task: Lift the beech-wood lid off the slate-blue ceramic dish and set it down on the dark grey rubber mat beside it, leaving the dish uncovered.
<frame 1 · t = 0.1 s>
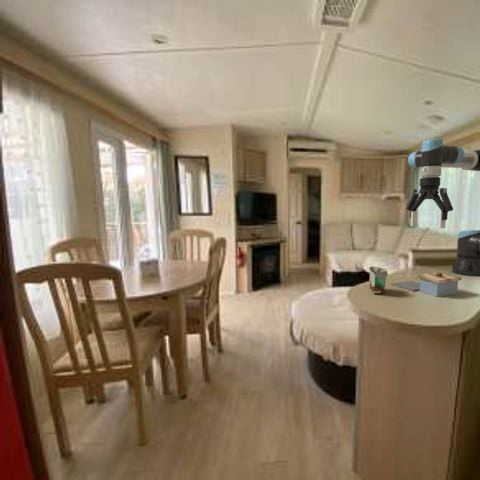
hand: (427, 227, 137), 28 cm above the countertop, tool pointing down, fingers open, 13 cm apart
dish: (438, 292, 135), on the countertop
mat: (411, 286, 145), on the countertop
food container: (379, 292, 137), on the countertop
lid: (438, 278, 134), point 6 cm above the countertop, touching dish
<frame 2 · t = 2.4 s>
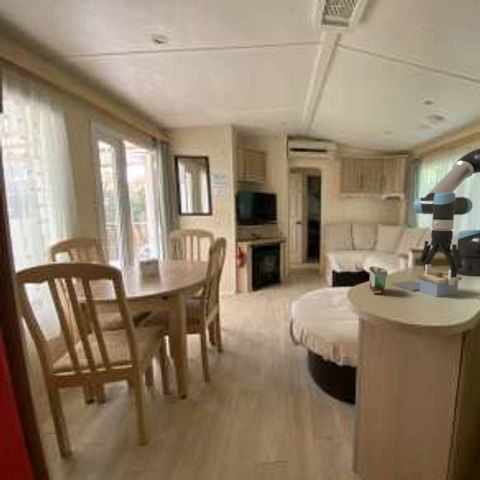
hand: (438, 281, 134), 5 cm above the countertop, tool pointing down, fingers closed on lid, 10 cm apart
lid: (438, 278, 134), point 6 cm above the countertop, touching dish, gripper
everything else where it was.
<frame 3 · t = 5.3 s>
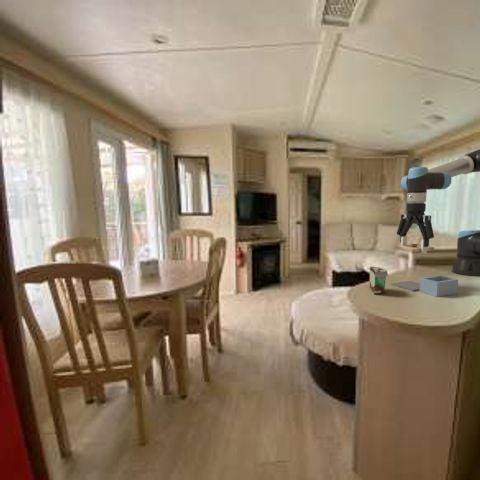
hand: (413, 252, 143), 16 cm above the countertop, tool pointing down, fingers closed on lid, 10 cm apart
lid: (413, 249, 143), point 17 cm above the countertop, touching gripper
everything else where it was.
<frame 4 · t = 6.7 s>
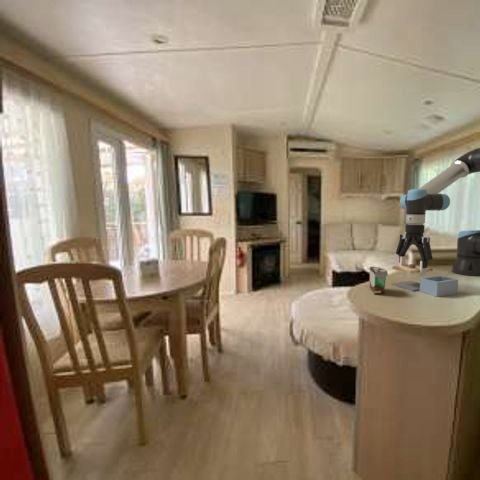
hand: (412, 272, 144), 7 cm above the countertop, tool pointing down, fingers closed on lid, 10 cm apart
lid: (412, 269, 144), point 8 cm above the countertop, touching gripper
everything else where it was.
when the fingers open (2 cm above the countertop, at t = 8.2 s): lid drops 3 cm, resting on mat.
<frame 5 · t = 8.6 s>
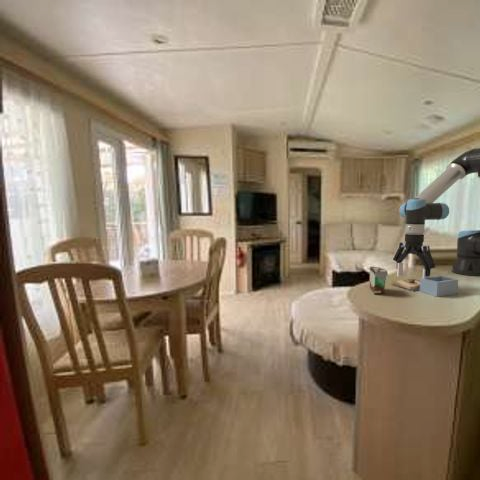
hand: (411, 279, 145), 3 cm above the countertop, tool pointing down, fingers open, 13 cm apart
lid: (411, 285, 145), point 1 cm above the countertop, touching mat
everything else where it was.
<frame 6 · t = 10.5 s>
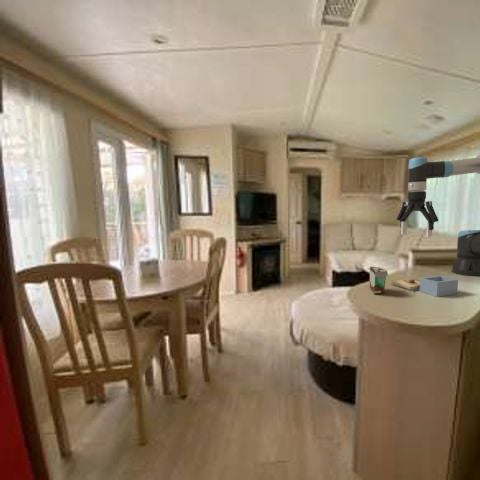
hand: (415, 235, 152), 22 cm above the countertop, tool pointing down, fingers open, 13 cm apart
nothing on the countertop moved.
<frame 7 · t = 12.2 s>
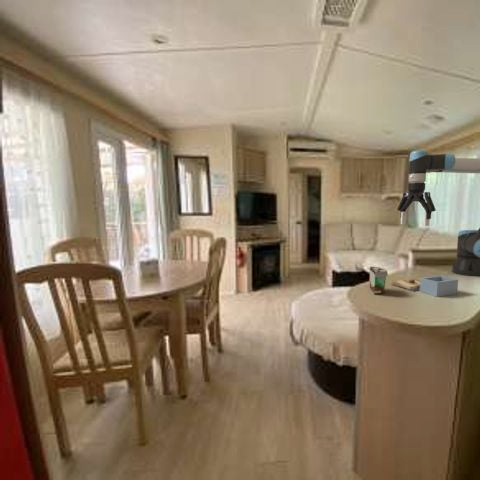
hand: (414, 225, 160), 27 cm above the countertop, tool pointing down, fingers open, 13 cm apart
nothing on the countertop moved.
at the end: lid inside the target area on the mat (0.0 cm from its centre), point 0.6 cm above the mat's base; lid touching mat; lid tilted 0° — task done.
